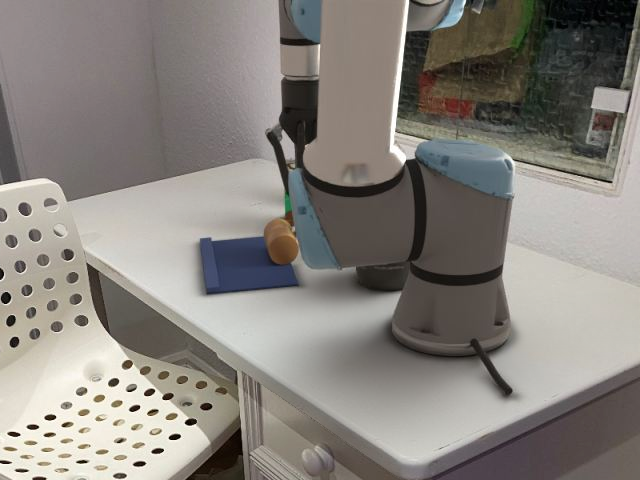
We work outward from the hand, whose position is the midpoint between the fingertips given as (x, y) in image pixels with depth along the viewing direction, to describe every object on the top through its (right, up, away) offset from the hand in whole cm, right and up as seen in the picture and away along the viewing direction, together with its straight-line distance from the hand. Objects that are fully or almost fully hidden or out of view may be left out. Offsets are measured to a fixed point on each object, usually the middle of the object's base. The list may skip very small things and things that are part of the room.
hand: (309, 237), depth 132 cm
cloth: (-10, -4, 0) cm, 11 cm away
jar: (+11, -9, -8) cm, 17 cm away
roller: (-5, -1, 0) cm, 5 cm away
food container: (0, +6, +13) cm, 14 cm away
